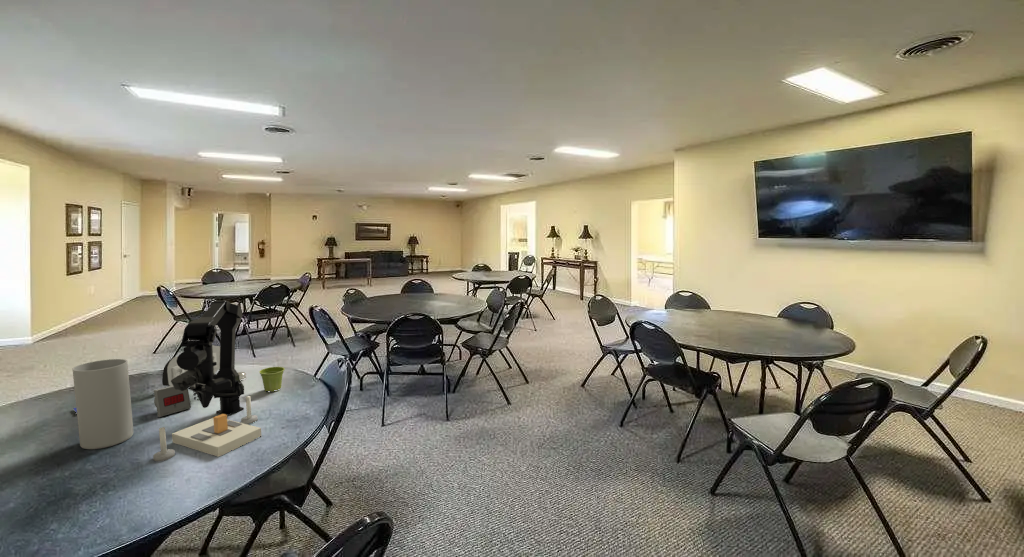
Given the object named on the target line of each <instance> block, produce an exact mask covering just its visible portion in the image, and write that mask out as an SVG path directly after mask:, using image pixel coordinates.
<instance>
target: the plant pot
mask: <svg viewBox="0 0 1024 557" xmlns="http://www.w3.org/2000/svg"><path fill="white" fill-rule="evenodd" d="M284 371H285V367H283V366H271V367H265V368H263V369H261V370H259V371H258V372H259V374H260V377H261V379H262V384H263V389H264V392H266V391H271V392H274V390H278V389H280V388H281V389H282V382H283V374H284ZM281 389H280V390H281ZM278 391H279V390H278Z"/></svg>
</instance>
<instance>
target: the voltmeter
mask: <svg viewBox="0 0 1024 557" xmlns="http://www.w3.org/2000/svg"><path fill="white" fill-rule="evenodd" d="M192 393H193V395H192V396H193V400H196V401H200V400H199V398H198V396H197V394H196V393H195V392H194V391H192ZM153 394H154V399H153V400H154V401H153V402H154V403H153V404H154V406H155V408H156V411H157V412H156V413H157V418H161V417H165V416H167V415H168V416H169V415H172V414H175V413H178V412H181V411H186V410H188V409H192V405H191V400H190V394H189V389H186V390H184V391H180V390H178V389H177V390H176V389H175V388H174V386H165V387H162V388H159V389H154V390H153Z"/></svg>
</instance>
